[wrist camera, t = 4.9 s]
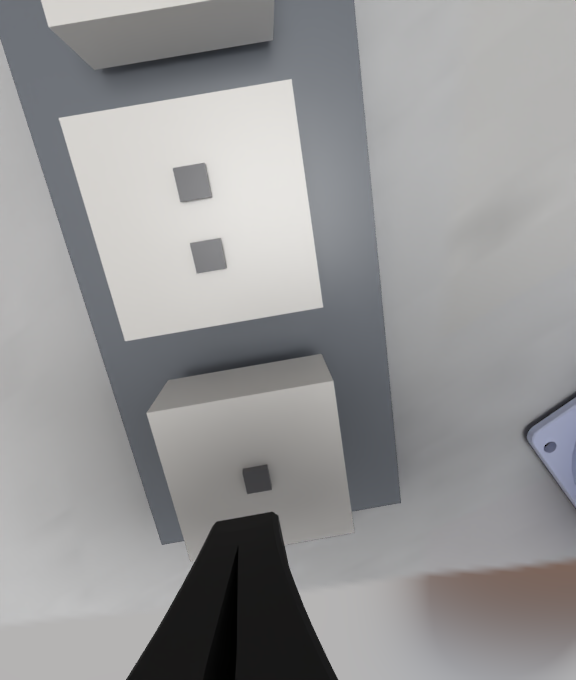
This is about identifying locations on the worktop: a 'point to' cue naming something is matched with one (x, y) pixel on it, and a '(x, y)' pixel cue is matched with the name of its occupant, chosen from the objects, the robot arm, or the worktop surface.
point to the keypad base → (325, 209)
